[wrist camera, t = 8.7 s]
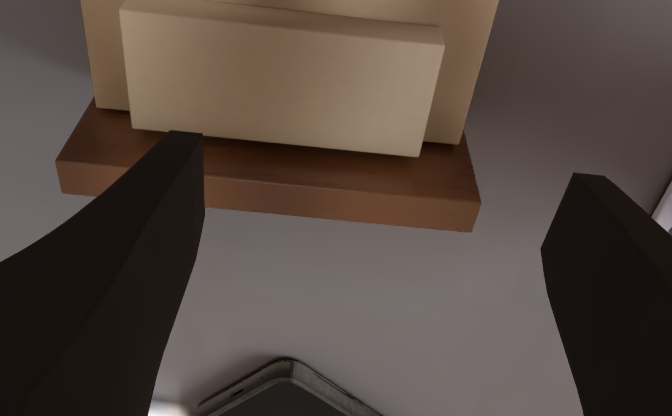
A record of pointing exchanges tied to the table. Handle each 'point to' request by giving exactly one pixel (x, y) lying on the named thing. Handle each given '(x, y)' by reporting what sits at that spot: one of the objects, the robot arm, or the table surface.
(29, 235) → the table surface
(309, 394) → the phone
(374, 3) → the doll bed
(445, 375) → the table surface
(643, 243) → the robot arm
